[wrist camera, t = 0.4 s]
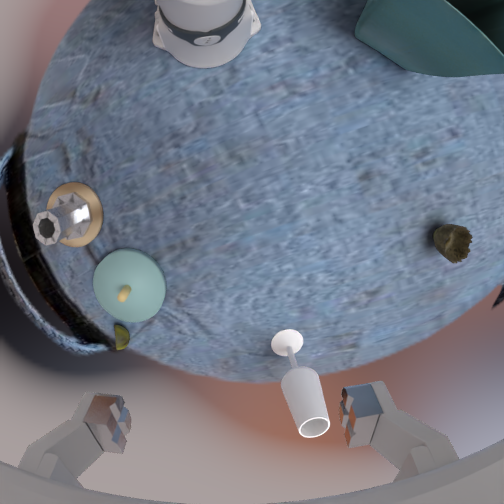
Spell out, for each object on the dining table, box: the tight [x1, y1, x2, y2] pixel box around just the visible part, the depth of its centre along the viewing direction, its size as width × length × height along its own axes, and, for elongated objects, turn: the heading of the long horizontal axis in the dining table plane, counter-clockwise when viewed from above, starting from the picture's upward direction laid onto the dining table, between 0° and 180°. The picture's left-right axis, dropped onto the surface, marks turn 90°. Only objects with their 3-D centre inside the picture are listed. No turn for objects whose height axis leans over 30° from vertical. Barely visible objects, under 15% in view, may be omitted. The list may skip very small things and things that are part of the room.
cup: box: [433, 224, 472, 263], centre depth 57 cm, size 7×7×8 cm
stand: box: [47, 182, 103, 247], centre depth 53 cm, size 12×12×1 cm
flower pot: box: [355, 0, 504, 77], centre depth 34 cm, size 20×20×28 cm
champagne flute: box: [271, 329, 330, 437], centre depth 53 cm, size 7×7×24 cm
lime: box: [114, 325, 130, 350], centre depth 59 cm, size 4×5×5 cm
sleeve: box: [33, 192, 93, 245], centre depth 47 cm, size 8×8×10 cm
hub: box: [93, 248, 167, 322], centre depth 55 cm, size 14×14×6 cm
